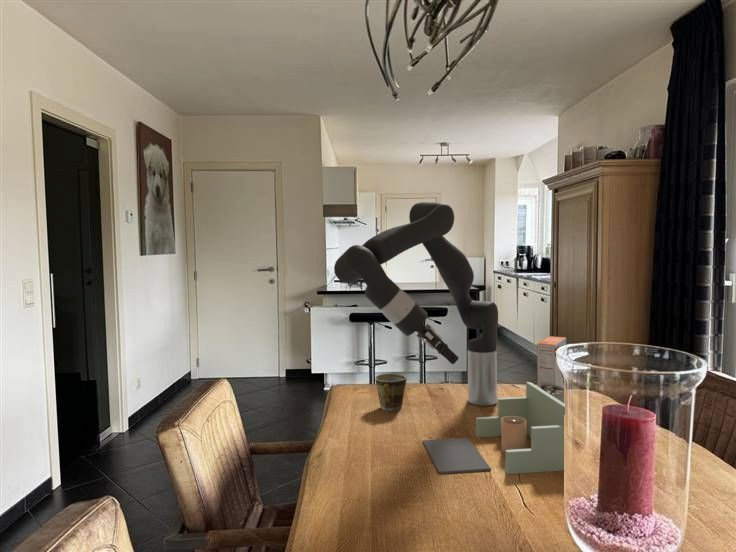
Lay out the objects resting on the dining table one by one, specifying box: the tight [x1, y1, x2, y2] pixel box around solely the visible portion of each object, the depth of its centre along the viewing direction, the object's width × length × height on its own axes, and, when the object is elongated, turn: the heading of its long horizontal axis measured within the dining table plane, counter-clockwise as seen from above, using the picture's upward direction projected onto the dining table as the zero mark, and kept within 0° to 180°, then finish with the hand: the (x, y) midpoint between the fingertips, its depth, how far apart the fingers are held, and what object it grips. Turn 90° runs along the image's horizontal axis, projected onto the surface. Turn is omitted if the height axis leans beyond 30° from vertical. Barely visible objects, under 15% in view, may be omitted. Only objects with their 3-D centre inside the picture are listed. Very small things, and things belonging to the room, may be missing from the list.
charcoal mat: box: [422, 437, 492, 475], centre depth 117 cm, size 18×12×1 cm, turn 5°
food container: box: [541, 383, 565, 404], centre depth 136 cm, size 12×6×10 cm, turn 168°
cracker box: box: [536, 335, 567, 388], centre depth 153 cm, size 14×6×21 cm, turn 144°
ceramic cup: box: [374, 373, 407, 412], centre depth 152 cm, size 13×10×10 cm
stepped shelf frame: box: [475, 381, 566, 475], centre depth 118 cm, size 22×15×14 cm
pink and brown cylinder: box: [500, 416, 528, 455], centre depth 118 cm, size 6×6×8 cm
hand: (451, 357), depth 116 cm, fingers open, 8 cm apart
